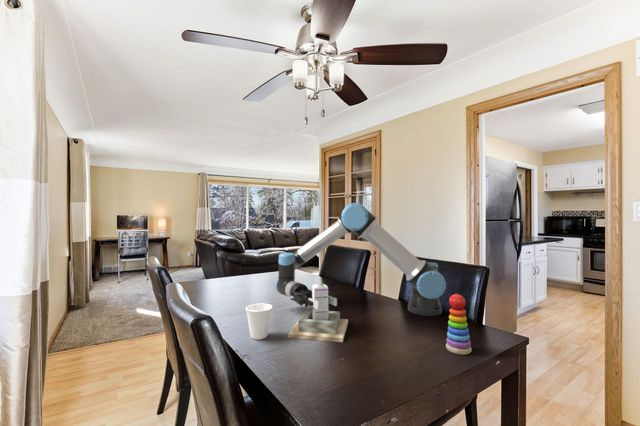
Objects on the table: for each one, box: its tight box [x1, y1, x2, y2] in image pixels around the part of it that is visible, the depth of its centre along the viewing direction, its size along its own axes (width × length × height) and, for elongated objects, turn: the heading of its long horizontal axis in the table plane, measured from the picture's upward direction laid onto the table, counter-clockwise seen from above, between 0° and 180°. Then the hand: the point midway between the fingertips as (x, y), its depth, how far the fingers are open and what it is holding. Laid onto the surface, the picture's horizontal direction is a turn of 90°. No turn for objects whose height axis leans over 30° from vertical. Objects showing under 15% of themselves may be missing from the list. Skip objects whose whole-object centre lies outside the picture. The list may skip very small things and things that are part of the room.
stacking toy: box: [445, 293, 473, 355], centre depth 105 cm, size 8×8×19 cm
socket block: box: [287, 309, 349, 343], centre depth 123 cm, size 20×20×6 cm
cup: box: [245, 302, 273, 341], centre depth 116 cm, size 10×10×11 cm
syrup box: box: [311, 283, 329, 320], centre depth 123 cm, size 6×6×14 cm
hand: (327, 303), depth 119 cm, fingers closed on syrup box, 7 cm apart
